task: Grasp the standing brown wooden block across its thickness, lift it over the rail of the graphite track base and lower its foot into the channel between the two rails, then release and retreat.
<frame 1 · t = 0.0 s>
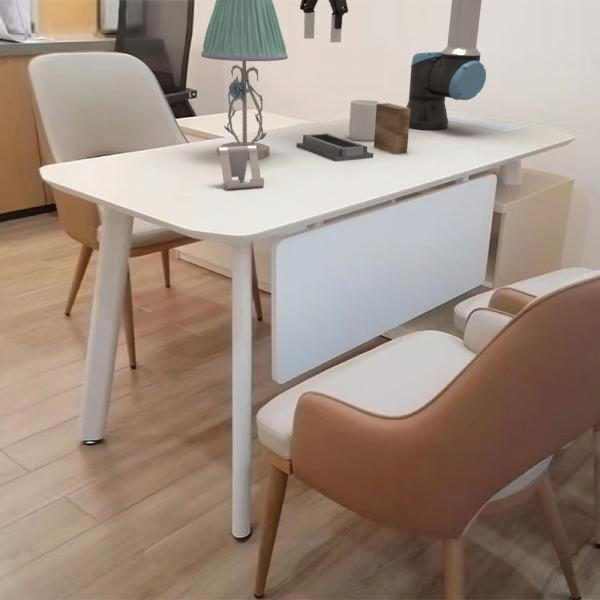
hand: (321, 40, 198), 28 cm above the table, fingers open, 13 cm apart
track base: (333, 151, 201), on the table
brown wooden block: (390, 150, 205), on the table
mug: (366, 138, 220), on the table
portable electronic device stand: (239, 186, 165), on the table
table lamp: (244, 155, 194), on the table
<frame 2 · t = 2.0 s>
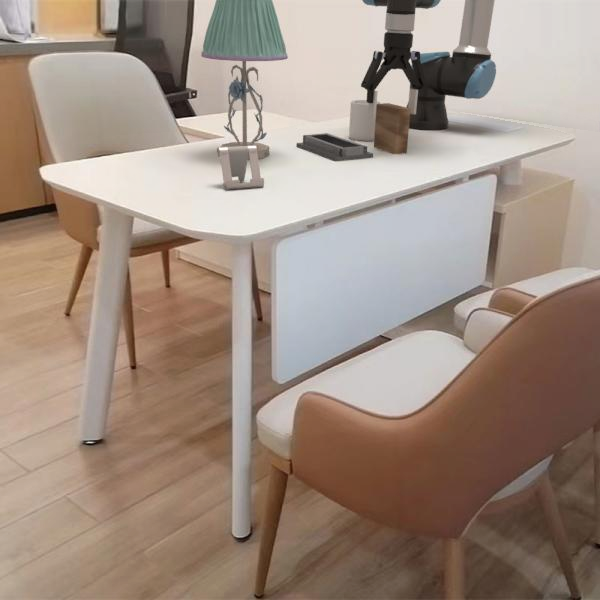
hand: (391, 114, 201), 10 cm above the table, fingers open, 13 cm apart
nothing on the table moved.
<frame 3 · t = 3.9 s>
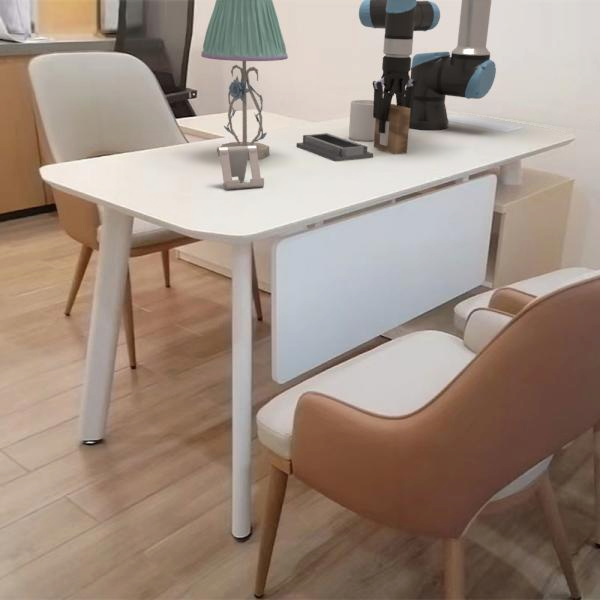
hand: (390, 143, 204), 2 cm above the table, fingers closed on brown wooden block, 4 cm apart
brown wooden block: (390, 150, 205), on the table, touching gripper
everything else where it was.
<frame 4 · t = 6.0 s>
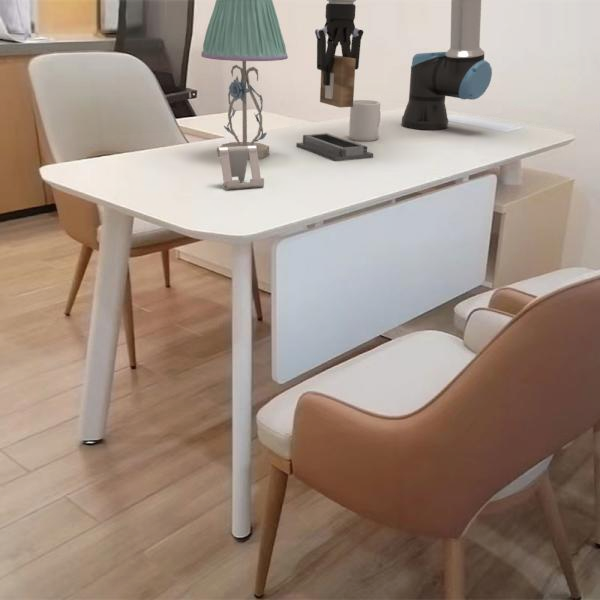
hand: (336, 97, 195), 14 cm above the table, fingers closed on brown wooden block, 4 cm apart
brown wooden block: (336, 104, 195), point 13 cm above the table, touching gripper
everything else where it was.
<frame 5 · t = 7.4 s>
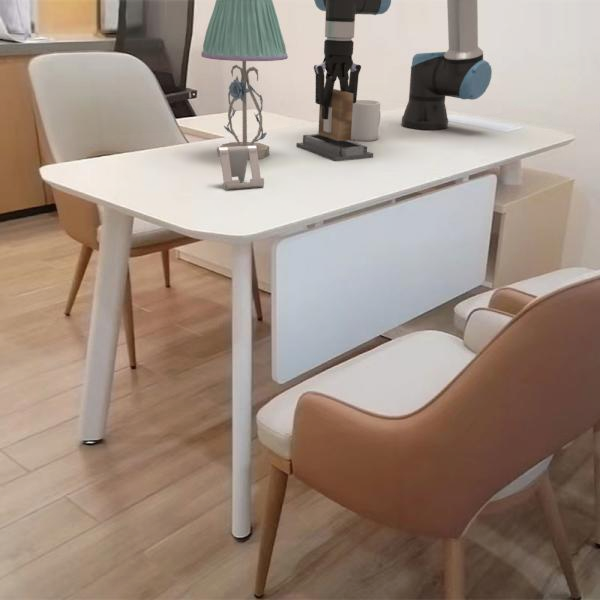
hand: (334, 130, 198), 6 cm above the table, fingers closed on brown wooden block, 4 cm apart
brown wooden block: (334, 137, 199), point 4 cm above the table, touching gripper
everything else where it was.
when the fingers open (4 cm above the table, at t = 8.4 s): brown wooden block drops 1 cm, resting on track base.
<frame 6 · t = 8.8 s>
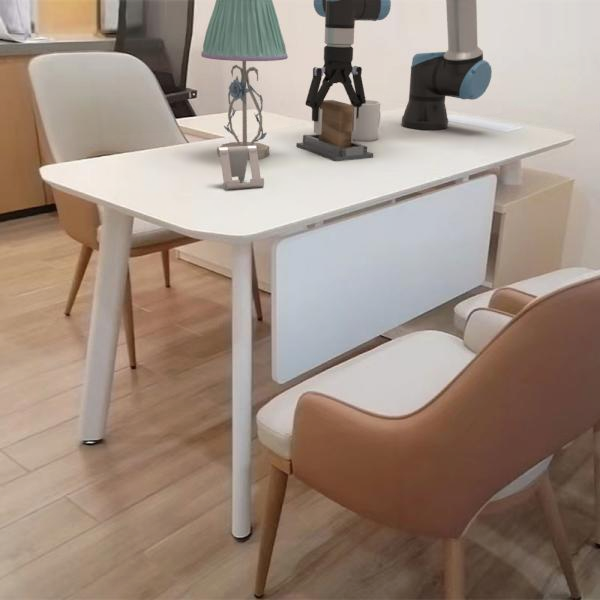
hand: (334, 132, 198), 5 cm above the table, fingers open, 10 cm apart
brown wooden block: (334, 148, 200), point 1 cm above the table, touching track base
everything else where it was.
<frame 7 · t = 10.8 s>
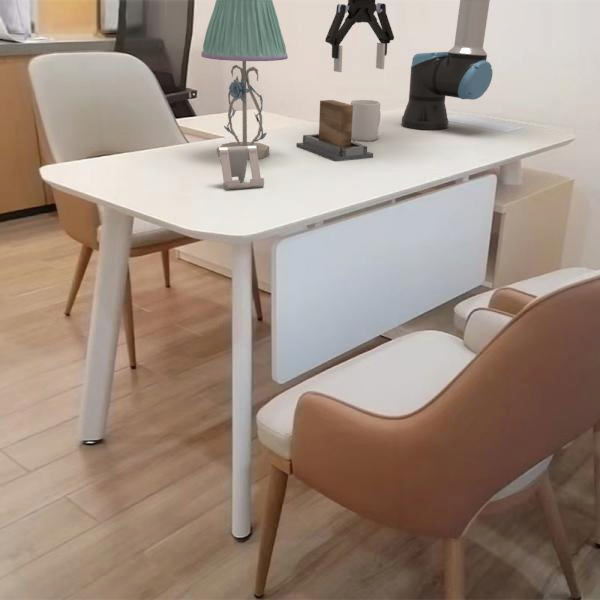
hand: (359, 70, 197), 21 cm above the table, fingers open, 13 cm apart
nothing on the table moved.
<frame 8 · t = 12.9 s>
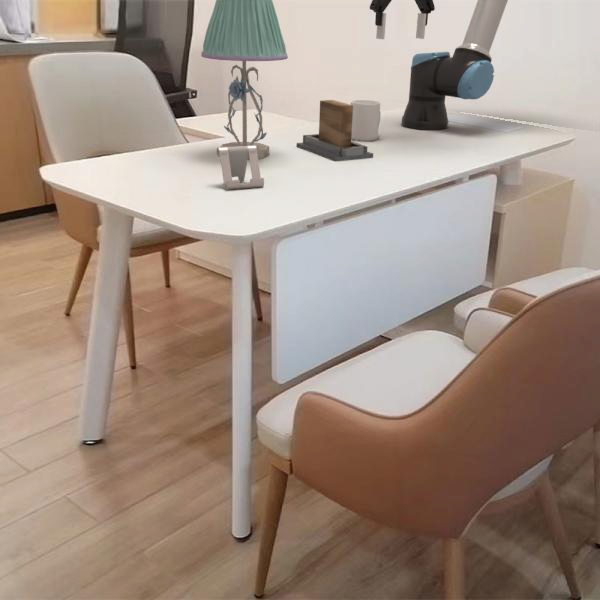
hand: (400, 38, 202), 29 cm above the table, fingers open, 13 cm apart
nothing on the table moved.
at the end: brown wooden block inside the target area on the track base (0.1 cm from its centre), point 1.0 cm above the track base's base; brown wooden block tilted 0°; the gripper is holding nothing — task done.
